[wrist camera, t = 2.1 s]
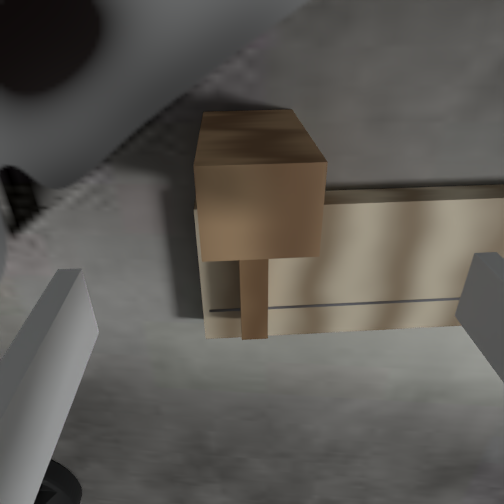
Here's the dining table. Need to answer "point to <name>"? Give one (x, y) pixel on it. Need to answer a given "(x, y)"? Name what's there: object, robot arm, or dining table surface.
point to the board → (369, 263)
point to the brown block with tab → (257, 199)
